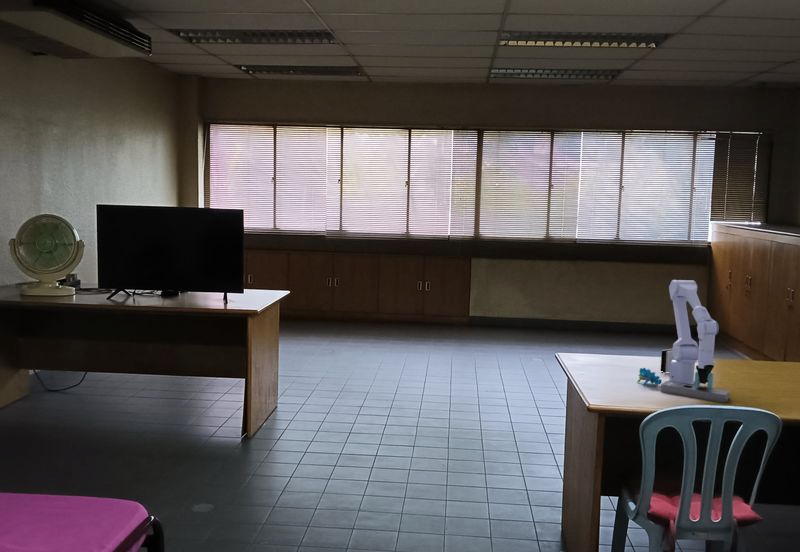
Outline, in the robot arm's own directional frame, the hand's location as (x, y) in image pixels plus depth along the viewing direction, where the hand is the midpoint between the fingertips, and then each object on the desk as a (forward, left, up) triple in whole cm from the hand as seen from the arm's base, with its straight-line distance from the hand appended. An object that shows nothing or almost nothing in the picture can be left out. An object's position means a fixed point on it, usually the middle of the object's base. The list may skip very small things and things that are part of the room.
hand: (703, 382), depth 280 cm
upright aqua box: (0, 0, -2) cm, 2 cm away
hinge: (-21, +28, -4) cm, 35 cm away
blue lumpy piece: (-20, -6, -4) cm, 21 cm away
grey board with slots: (-1, -11, -3) cm, 11 cm away
